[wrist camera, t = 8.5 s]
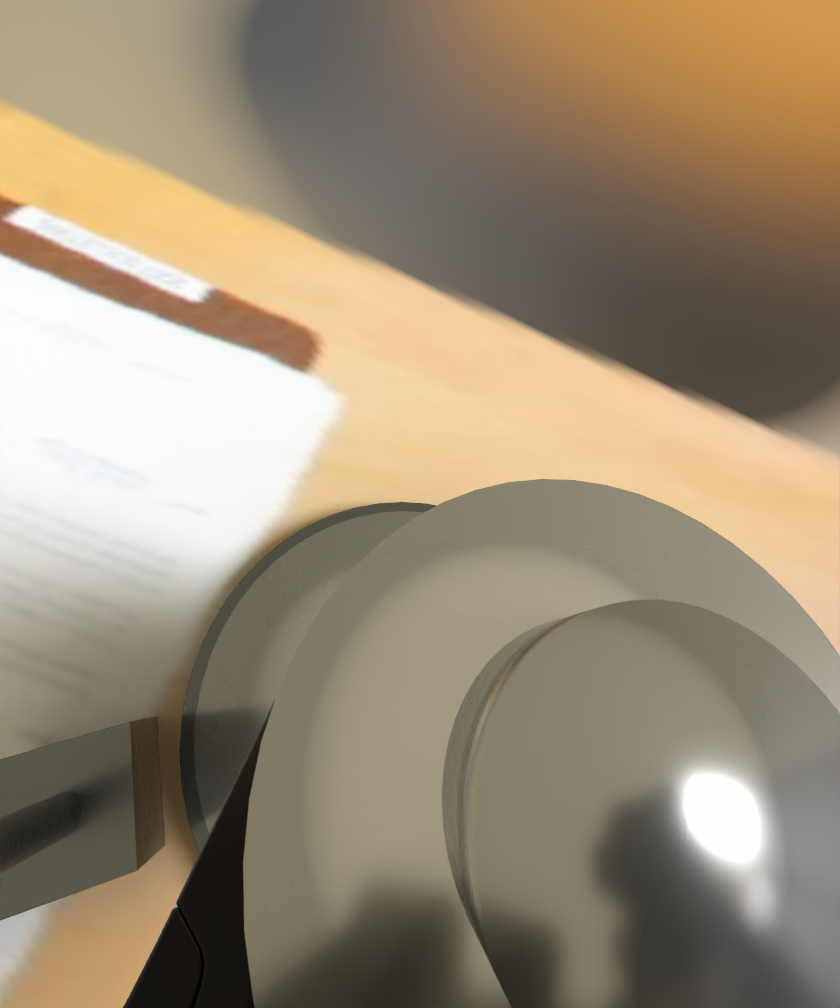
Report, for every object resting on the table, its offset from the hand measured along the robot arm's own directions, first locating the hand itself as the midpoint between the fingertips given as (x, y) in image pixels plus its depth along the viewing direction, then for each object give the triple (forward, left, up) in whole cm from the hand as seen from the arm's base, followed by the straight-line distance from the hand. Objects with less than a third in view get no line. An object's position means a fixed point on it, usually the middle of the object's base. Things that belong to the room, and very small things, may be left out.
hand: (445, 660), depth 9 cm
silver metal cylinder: (+1, -1, -7) cm, 7 cm away
